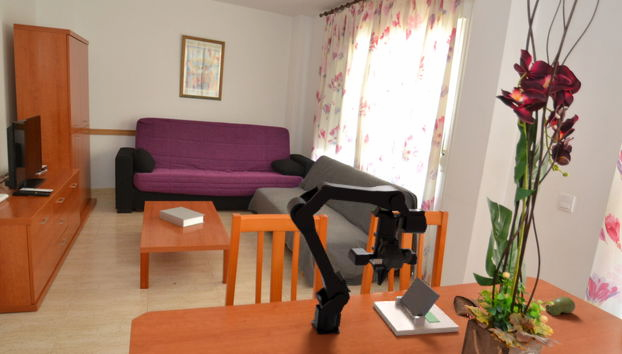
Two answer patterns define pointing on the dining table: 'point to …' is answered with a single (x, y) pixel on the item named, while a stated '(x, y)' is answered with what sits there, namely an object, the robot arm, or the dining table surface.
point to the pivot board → (414, 319)
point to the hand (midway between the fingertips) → (379, 284)
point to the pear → (561, 306)
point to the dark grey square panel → (419, 298)
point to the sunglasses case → (459, 305)
